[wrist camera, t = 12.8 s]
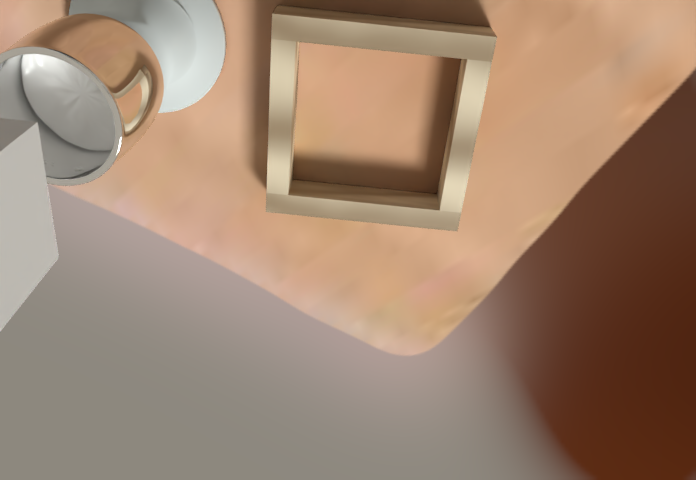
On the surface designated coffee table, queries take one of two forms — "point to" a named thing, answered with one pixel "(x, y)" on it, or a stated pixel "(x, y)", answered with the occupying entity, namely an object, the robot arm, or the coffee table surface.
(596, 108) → the coffee table surface
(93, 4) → the white glossy dome
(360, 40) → the frame
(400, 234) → the coffee table surface
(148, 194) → the coffee table surface
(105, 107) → the silver tall cylindrical piece
